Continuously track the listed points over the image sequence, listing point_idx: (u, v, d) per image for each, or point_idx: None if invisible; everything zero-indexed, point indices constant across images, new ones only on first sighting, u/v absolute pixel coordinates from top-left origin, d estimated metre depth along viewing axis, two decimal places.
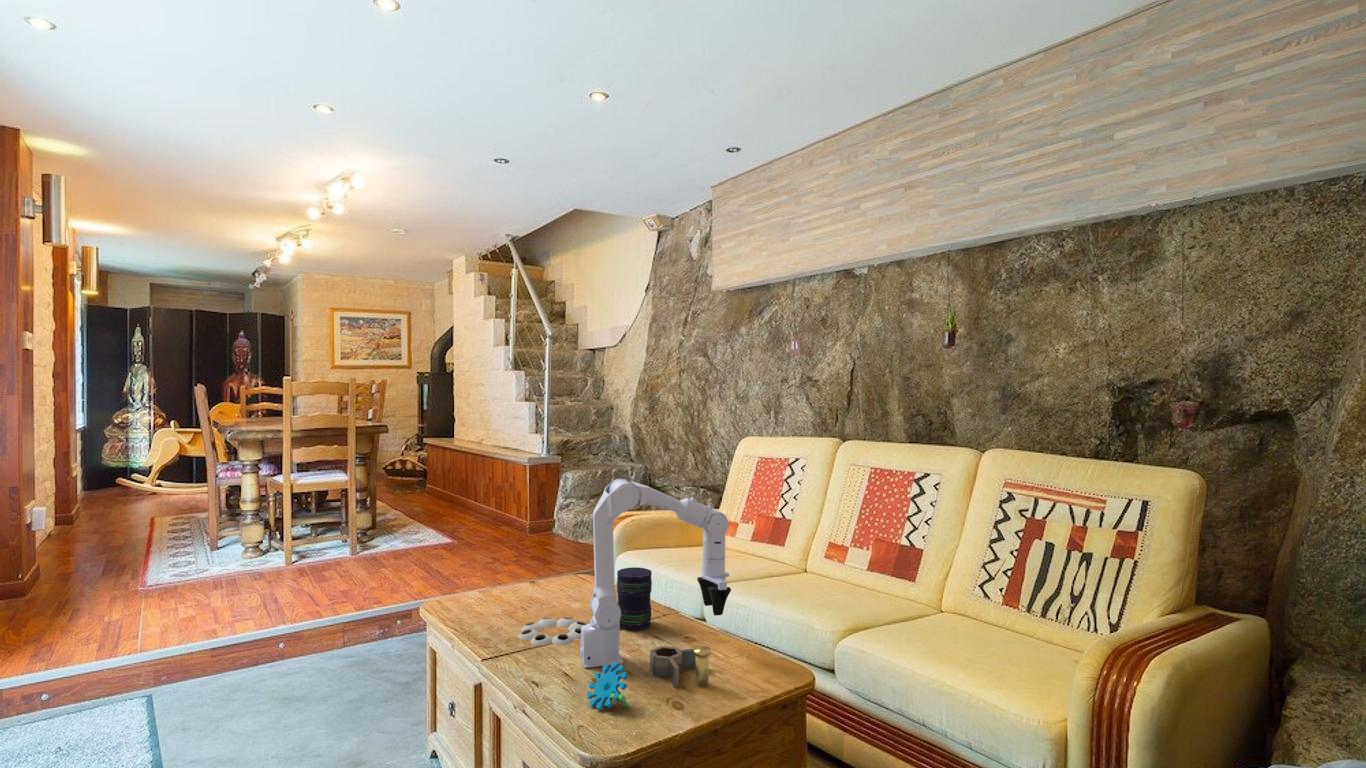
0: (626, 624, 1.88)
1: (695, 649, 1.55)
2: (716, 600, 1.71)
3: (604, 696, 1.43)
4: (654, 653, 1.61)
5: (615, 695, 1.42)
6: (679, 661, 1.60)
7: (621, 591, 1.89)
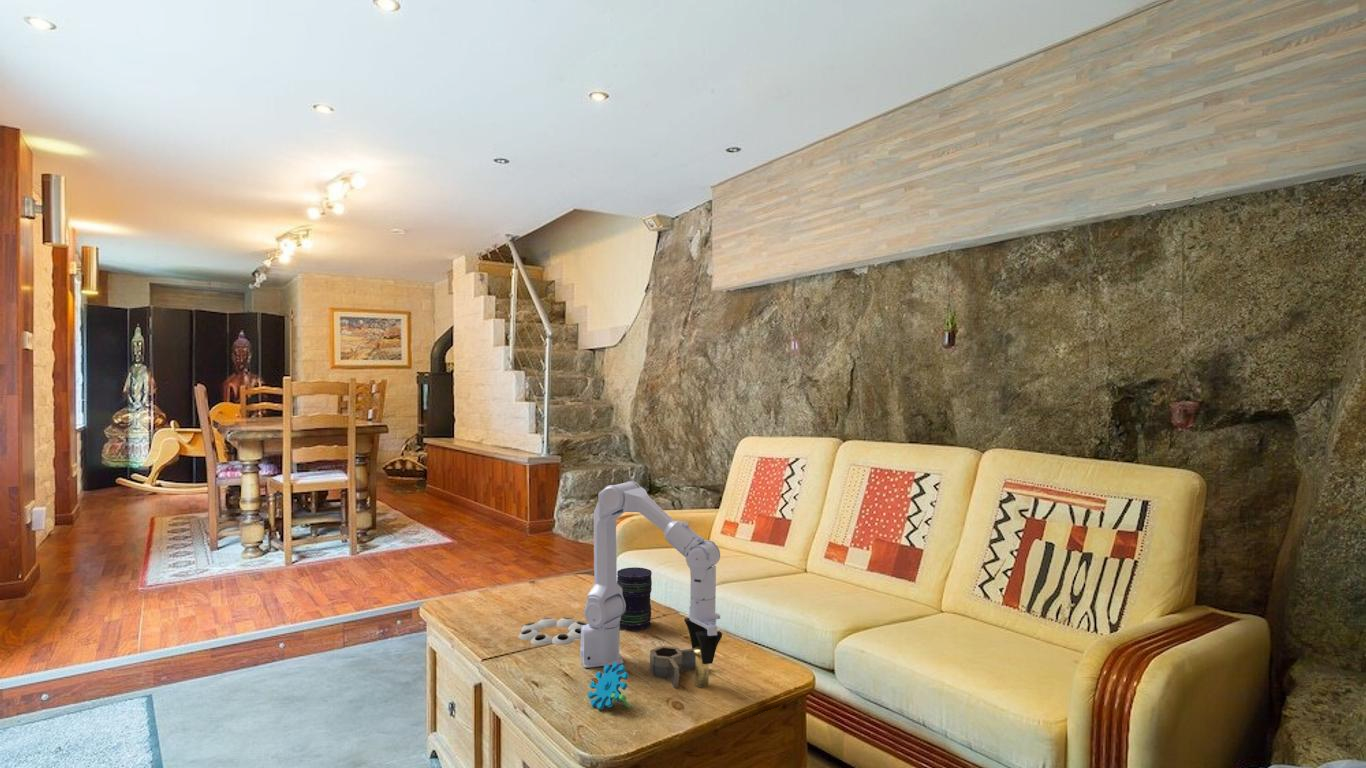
0: (626, 624, 1.88)
1: (695, 649, 1.55)
2: (705, 647, 1.51)
3: (604, 696, 1.43)
4: (654, 653, 1.61)
5: (615, 695, 1.42)
6: (679, 661, 1.60)
7: None
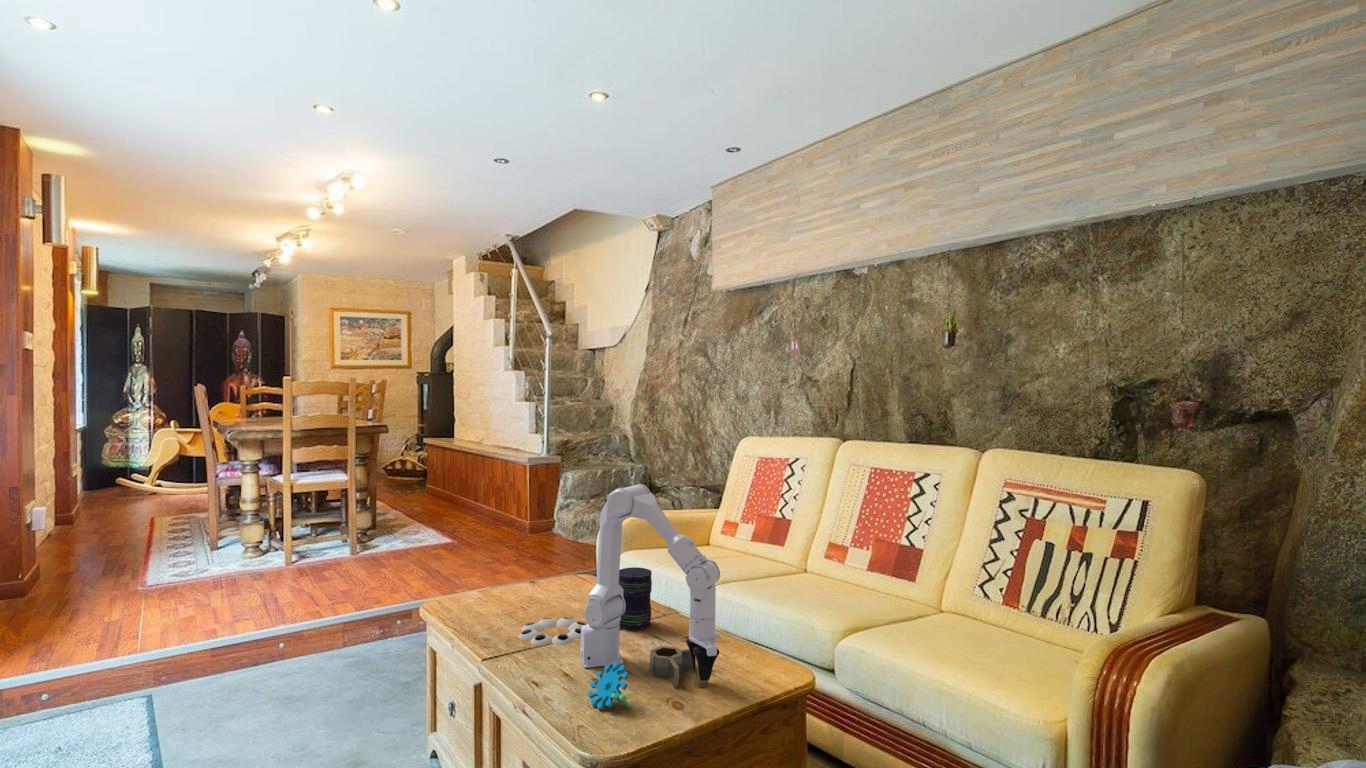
0: (626, 624, 1.88)
1: None
2: (702, 663, 1.52)
3: (605, 696, 1.43)
4: (654, 653, 1.61)
5: (616, 695, 1.42)
6: (679, 661, 1.60)
7: None
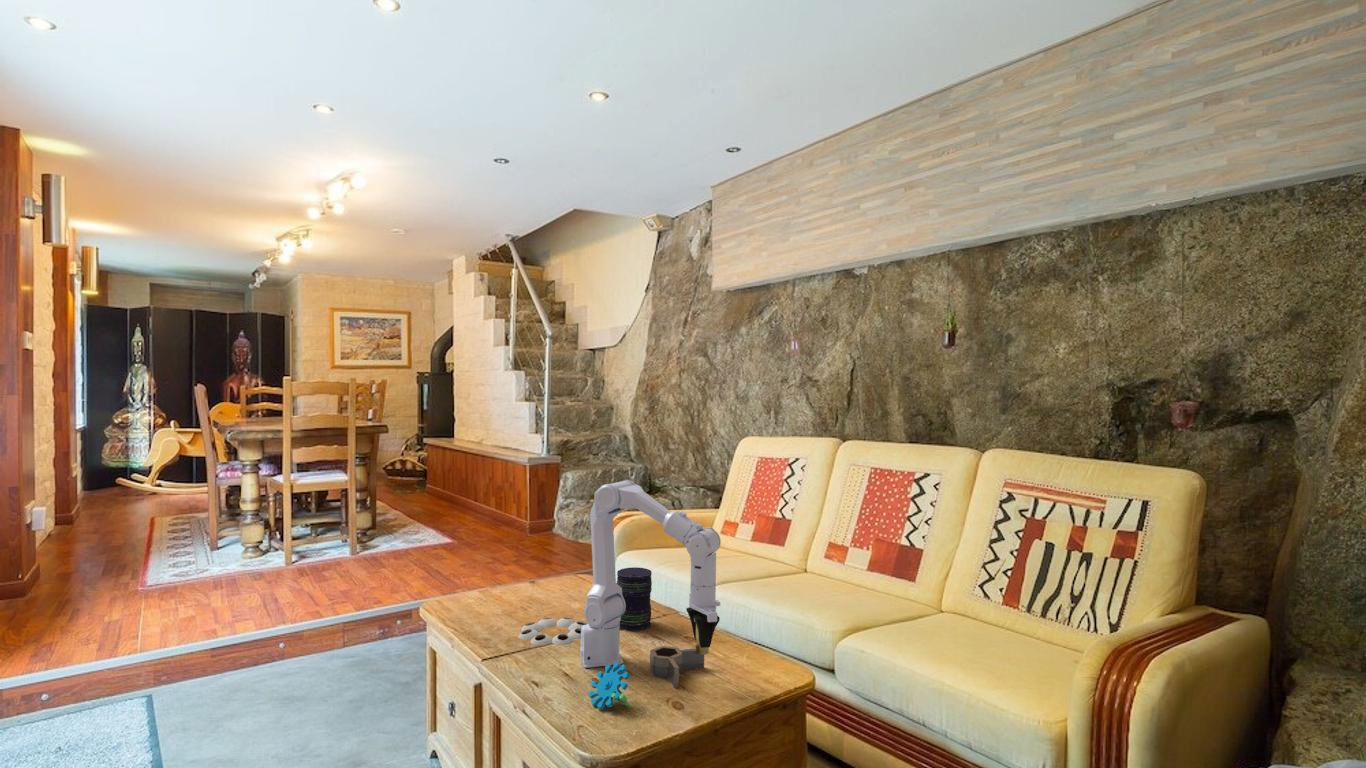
0: (626, 624, 1.88)
1: None
2: (703, 630, 1.52)
3: (605, 696, 1.43)
4: (654, 653, 1.61)
5: (616, 695, 1.42)
6: (679, 661, 1.60)
7: None
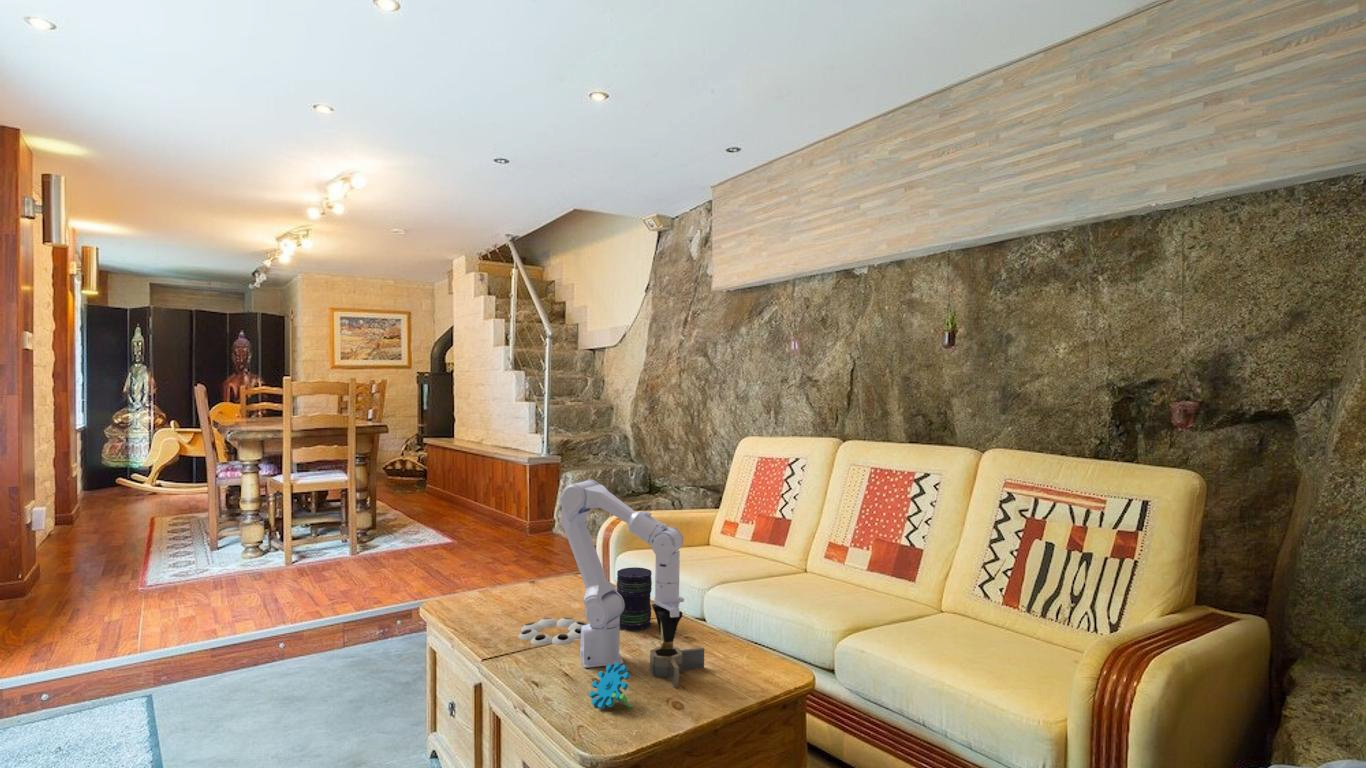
0: (626, 624, 1.88)
1: None
2: (667, 625, 1.59)
3: (605, 696, 1.43)
4: (654, 653, 1.61)
5: (616, 695, 1.42)
6: (679, 661, 1.60)
7: (621, 591, 1.89)
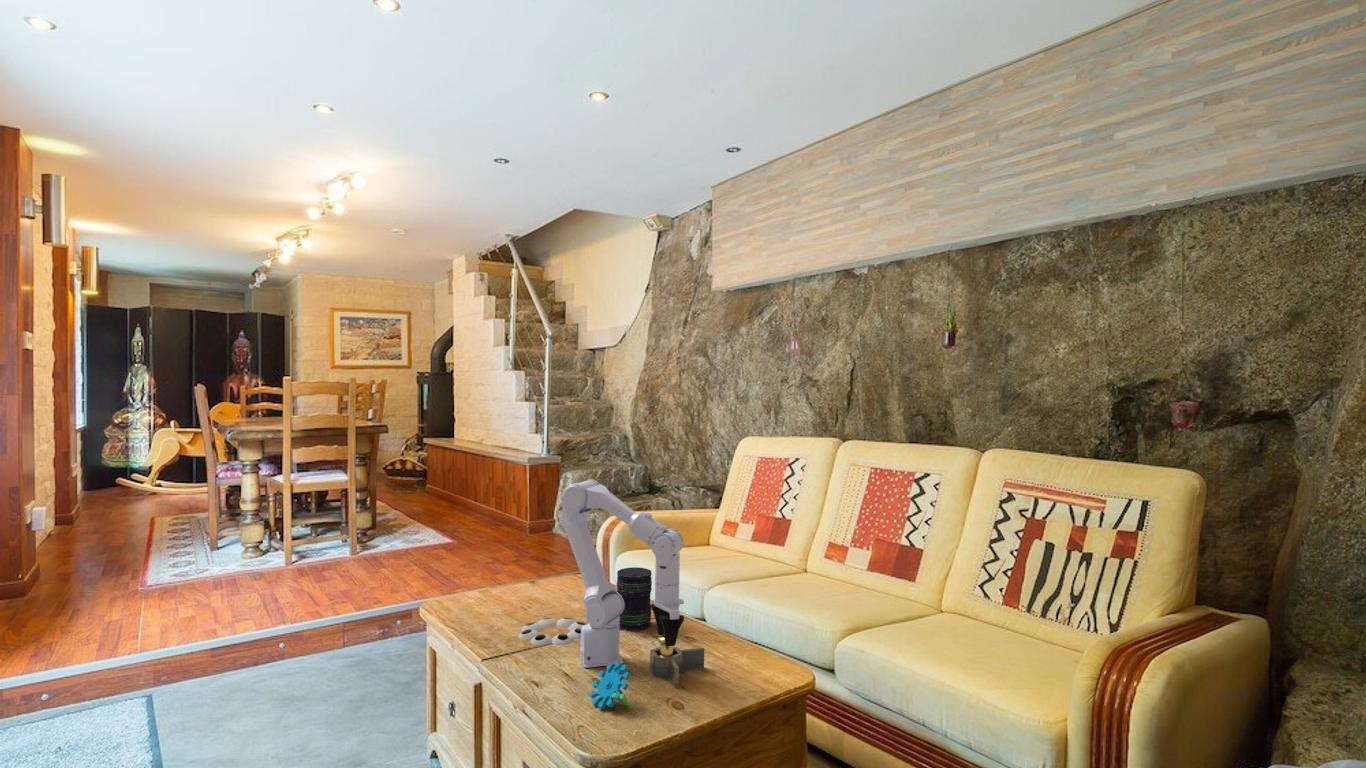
0: (626, 624, 1.88)
1: (660, 637, 1.62)
2: (668, 630, 1.58)
3: (606, 695, 1.43)
4: (654, 653, 1.61)
5: (616, 695, 1.42)
6: (679, 661, 1.60)
7: (621, 591, 1.89)
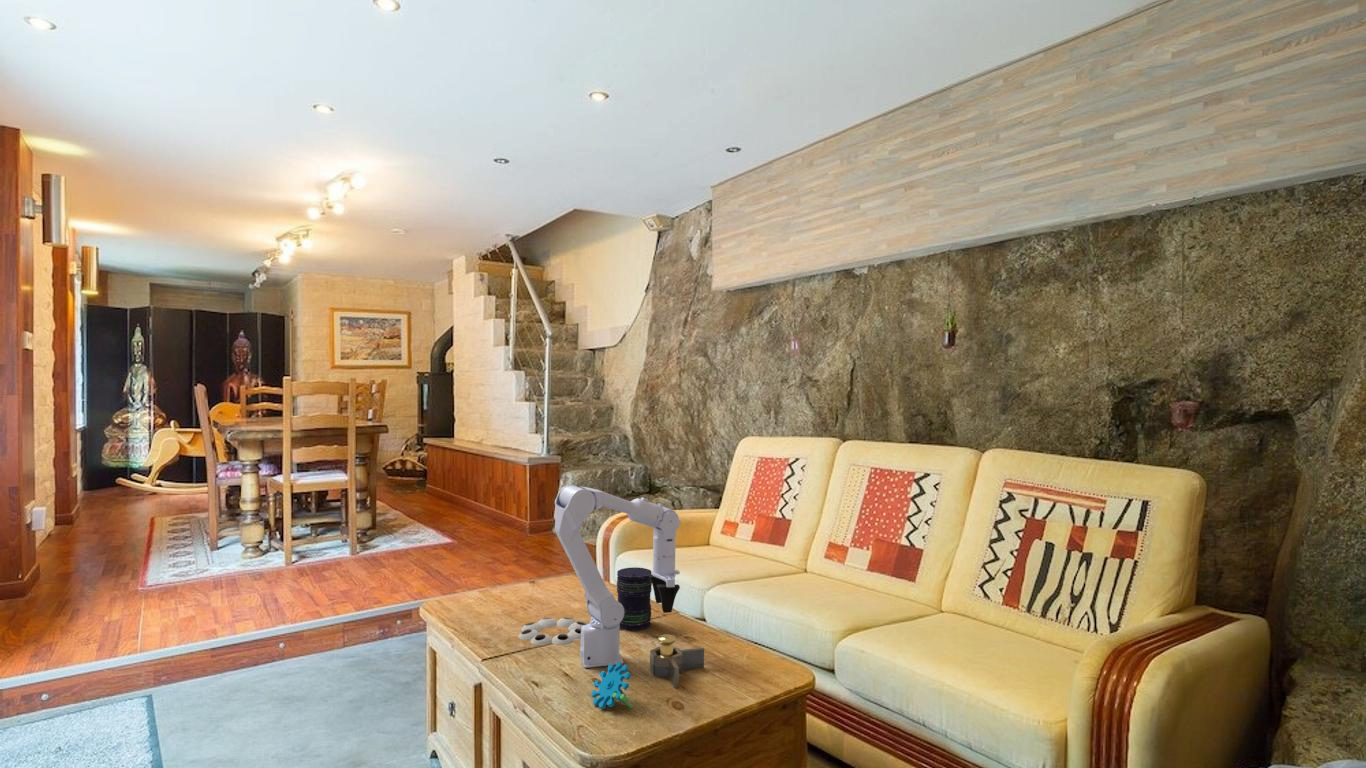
0: (626, 624, 1.88)
1: (660, 637, 1.62)
2: (665, 597, 1.72)
3: (606, 695, 1.43)
4: (654, 653, 1.61)
5: (617, 695, 1.42)
6: (679, 661, 1.60)
7: (621, 591, 1.89)
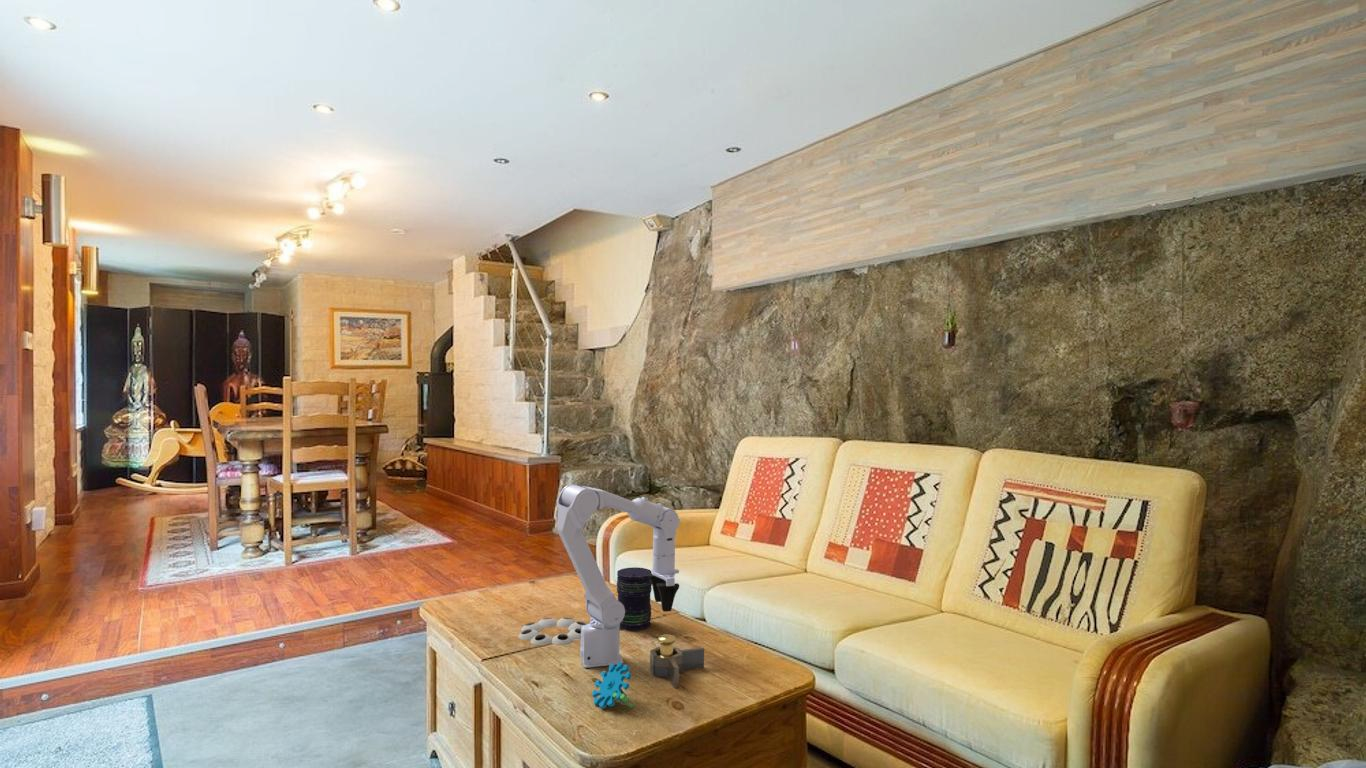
0: (626, 624, 1.88)
1: (660, 637, 1.62)
2: (665, 596, 1.73)
3: (607, 695, 1.44)
4: (654, 653, 1.61)
5: (617, 695, 1.42)
6: (679, 661, 1.60)
7: (621, 591, 1.89)
